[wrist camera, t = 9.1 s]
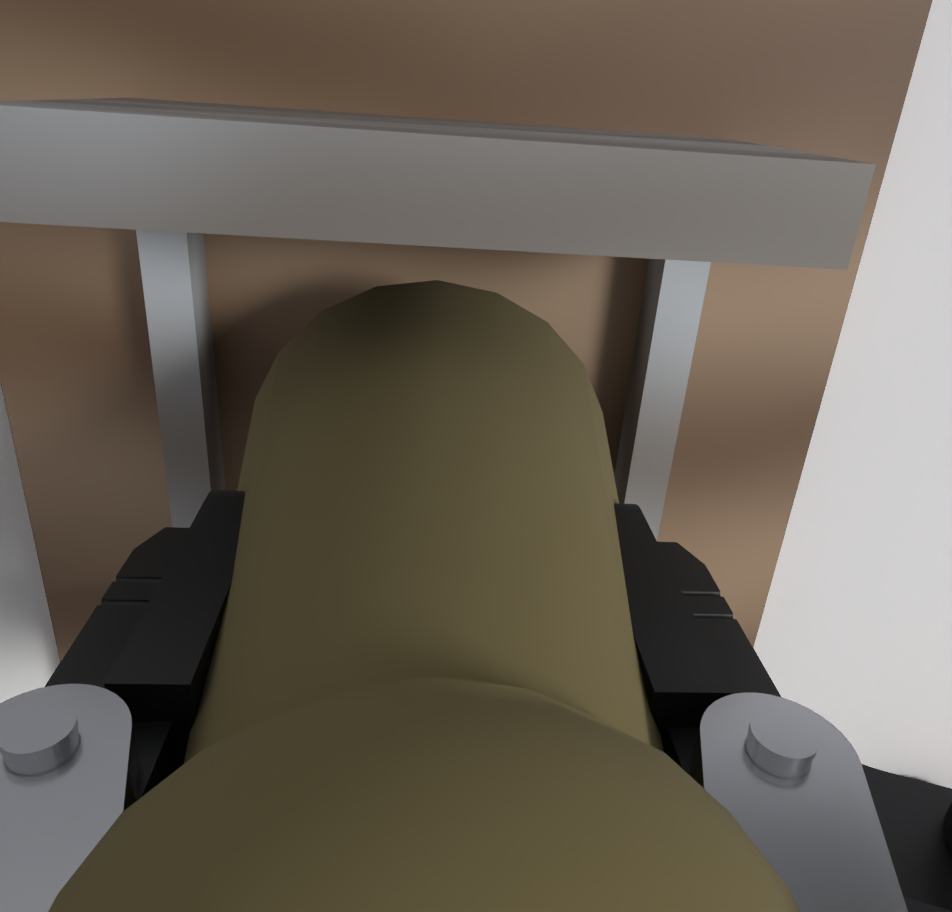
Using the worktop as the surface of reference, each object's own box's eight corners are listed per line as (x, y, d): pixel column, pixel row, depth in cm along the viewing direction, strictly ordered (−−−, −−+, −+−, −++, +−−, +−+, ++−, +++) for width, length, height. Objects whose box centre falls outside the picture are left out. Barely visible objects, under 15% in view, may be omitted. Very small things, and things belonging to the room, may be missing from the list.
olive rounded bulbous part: (211, 547, 14) (-371, 1765, 4) (307, 220, 11) (-563, 1146, 1) (522, 637, 15) (702, 1728, 5) (667, 358, 13) (1550, 1373, 3)
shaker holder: (-85, -196, 12) (-537, -444, 6) (925, -100, 13) (1290, -238, 7) (93, 710, 19) (-39, 952, 14) (712, 716, 20) (813, 942, 15)
